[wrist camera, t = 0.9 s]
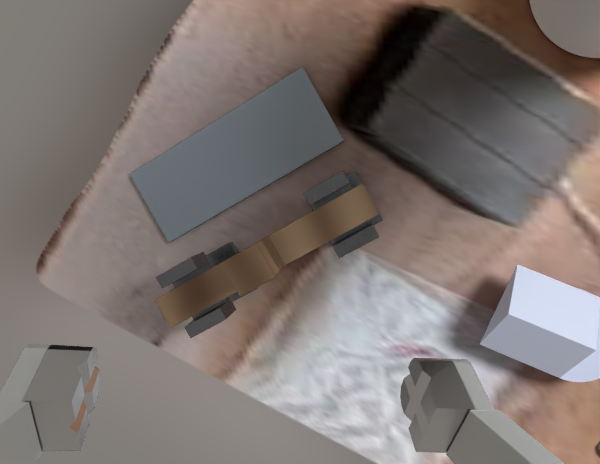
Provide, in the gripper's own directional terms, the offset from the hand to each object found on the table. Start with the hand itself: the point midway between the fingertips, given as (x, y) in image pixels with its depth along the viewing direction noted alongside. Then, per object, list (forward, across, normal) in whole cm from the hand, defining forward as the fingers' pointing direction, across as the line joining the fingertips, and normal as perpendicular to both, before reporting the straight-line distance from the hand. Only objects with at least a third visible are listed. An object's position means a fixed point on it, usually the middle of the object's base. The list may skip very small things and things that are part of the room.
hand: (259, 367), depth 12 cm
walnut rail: (+28, -3, +17) cm, 33 cm away
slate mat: (+41, +1, +13) cm, 43 cm away
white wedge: (+26, -33, +22) cm, 48 cm away
